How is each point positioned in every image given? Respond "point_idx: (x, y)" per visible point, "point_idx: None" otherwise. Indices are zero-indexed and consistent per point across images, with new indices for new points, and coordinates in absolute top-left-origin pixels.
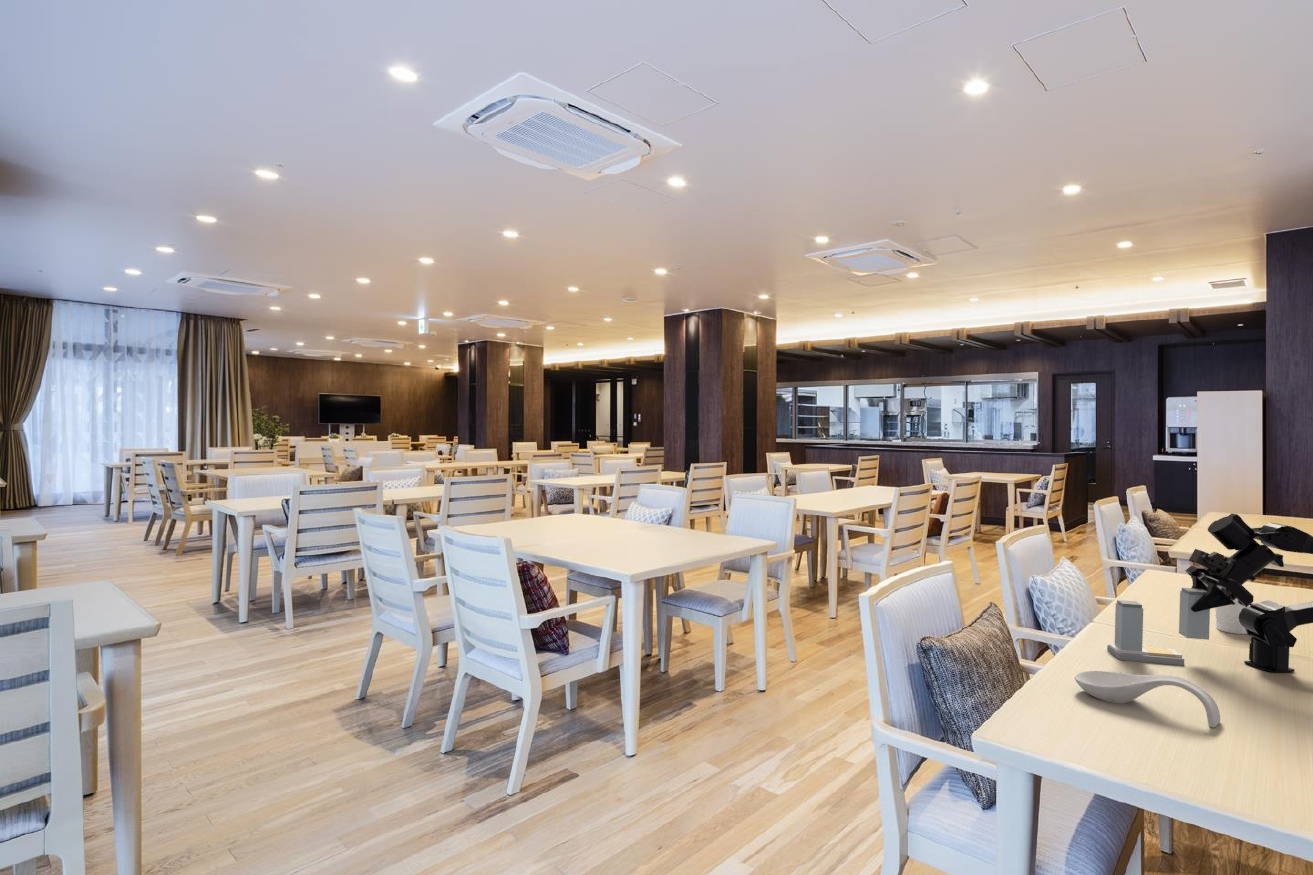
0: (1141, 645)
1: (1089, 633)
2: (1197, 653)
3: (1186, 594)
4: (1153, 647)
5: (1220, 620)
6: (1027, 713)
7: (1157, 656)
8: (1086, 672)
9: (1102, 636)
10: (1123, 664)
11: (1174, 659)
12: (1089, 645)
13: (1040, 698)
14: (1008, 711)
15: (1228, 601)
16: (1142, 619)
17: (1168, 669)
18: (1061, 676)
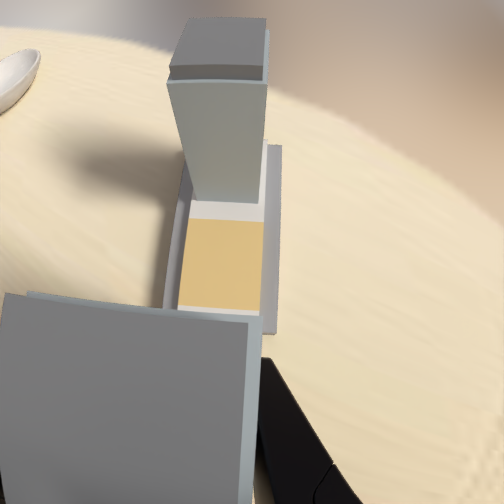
0: (194, 187)
1: (447, 187)
2: (329, 446)
3: (75, 300)
4: (259, 264)
5: None
6: (9, 38)
7: (176, 242)
8: (36, 57)
9: (434, 209)
10: (150, 150)
11: (164, 293)
12: (320, 133)
13: (31, 40)
14: (18, 28)
15: None
16: (177, 122)
17: (117, 250)
18: (88, 51)
